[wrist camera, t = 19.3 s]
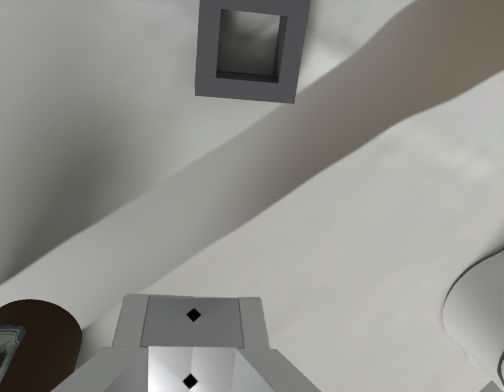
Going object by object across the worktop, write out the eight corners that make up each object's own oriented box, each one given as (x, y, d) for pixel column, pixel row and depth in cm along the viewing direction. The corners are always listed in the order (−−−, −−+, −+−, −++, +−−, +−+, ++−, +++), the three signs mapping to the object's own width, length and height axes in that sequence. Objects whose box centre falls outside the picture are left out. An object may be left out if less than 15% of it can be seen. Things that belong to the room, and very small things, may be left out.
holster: (301, -5, 36) (310, -4, 33) (287, 95, 39) (294, 103, 37) (200, -18, 35) (201, -17, 32) (194, 87, 38) (195, 95, 35)
